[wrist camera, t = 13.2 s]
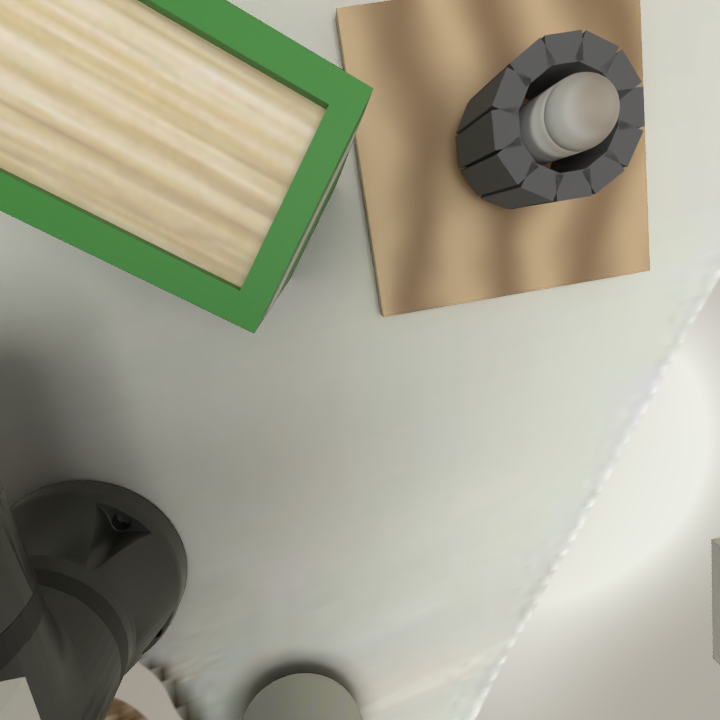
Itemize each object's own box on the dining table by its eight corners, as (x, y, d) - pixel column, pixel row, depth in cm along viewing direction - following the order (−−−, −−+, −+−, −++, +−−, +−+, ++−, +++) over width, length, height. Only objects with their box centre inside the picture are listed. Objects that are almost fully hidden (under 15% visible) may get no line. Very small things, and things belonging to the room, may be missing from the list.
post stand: (381, 314, 40) (415, 350, 26) (335, 18, 35) (349, -121, 22) (637, 269, 41) (797, 282, 27) (625, -25, 36) (809, -183, 23)
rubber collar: (464, 217, 35) (501, 210, 28) (449, 85, 33) (484, 44, 26) (582, 197, 35) (646, 186, 28) (574, 65, 33) (640, 20, 27)
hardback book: (51, 156, 36) (-450, -8, 12) (93, 49, 34) (-370, -355, 11) (290, 278, 39) (254, 333, 15) (336, 184, 38) (373, 88, 14)
